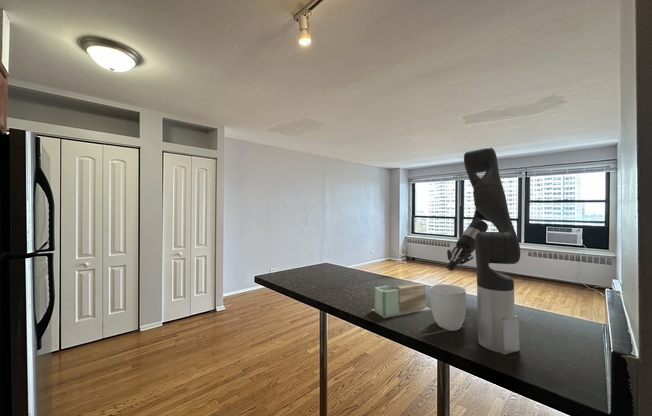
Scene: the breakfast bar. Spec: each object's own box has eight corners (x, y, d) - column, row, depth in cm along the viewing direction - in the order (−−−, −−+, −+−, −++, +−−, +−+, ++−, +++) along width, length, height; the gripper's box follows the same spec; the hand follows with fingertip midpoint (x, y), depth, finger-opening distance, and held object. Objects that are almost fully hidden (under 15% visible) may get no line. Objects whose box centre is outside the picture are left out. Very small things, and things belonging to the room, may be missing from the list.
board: (431, 310, 104) (431, 309, 104) (383, 319, 97) (383, 317, 97) (416, 303, 113) (416, 301, 113) (371, 310, 105) (371, 309, 105)
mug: (451, 315, 99) (450, 280, 99) (480, 326, 90) (479, 288, 90) (424, 324, 92) (423, 287, 92) (453, 337, 82) (452, 295, 83)
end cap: (398, 313, 100) (398, 290, 101) (383, 316, 98) (383, 292, 98) (388, 307, 107) (388, 285, 107) (374, 310, 104) (374, 287, 105)
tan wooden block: (425, 307, 107) (425, 284, 107) (400, 311, 103) (400, 288, 103) (419, 304, 110) (419, 282, 110) (395, 308, 106) (395, 285, 106)
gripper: (453, 233, 123) (432, 261, 119) (478, 235, 111) (456, 266, 107) (462, 243, 125) (442, 271, 121) (487, 247, 113) (466, 278, 108)
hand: (449, 269), depth 114 cm, fingers closed
